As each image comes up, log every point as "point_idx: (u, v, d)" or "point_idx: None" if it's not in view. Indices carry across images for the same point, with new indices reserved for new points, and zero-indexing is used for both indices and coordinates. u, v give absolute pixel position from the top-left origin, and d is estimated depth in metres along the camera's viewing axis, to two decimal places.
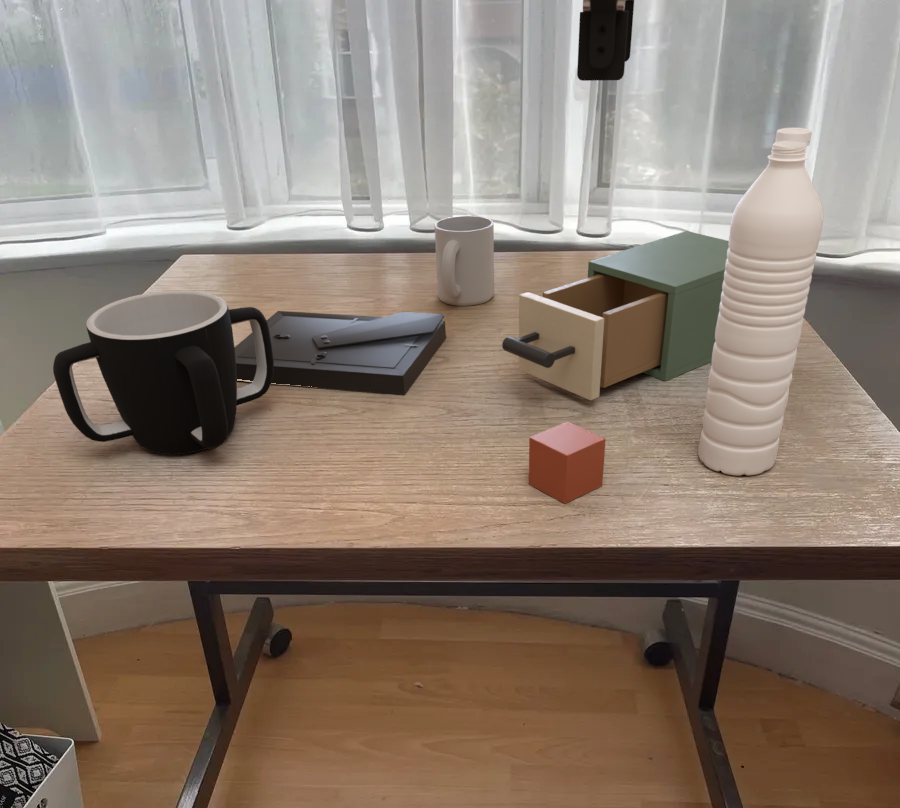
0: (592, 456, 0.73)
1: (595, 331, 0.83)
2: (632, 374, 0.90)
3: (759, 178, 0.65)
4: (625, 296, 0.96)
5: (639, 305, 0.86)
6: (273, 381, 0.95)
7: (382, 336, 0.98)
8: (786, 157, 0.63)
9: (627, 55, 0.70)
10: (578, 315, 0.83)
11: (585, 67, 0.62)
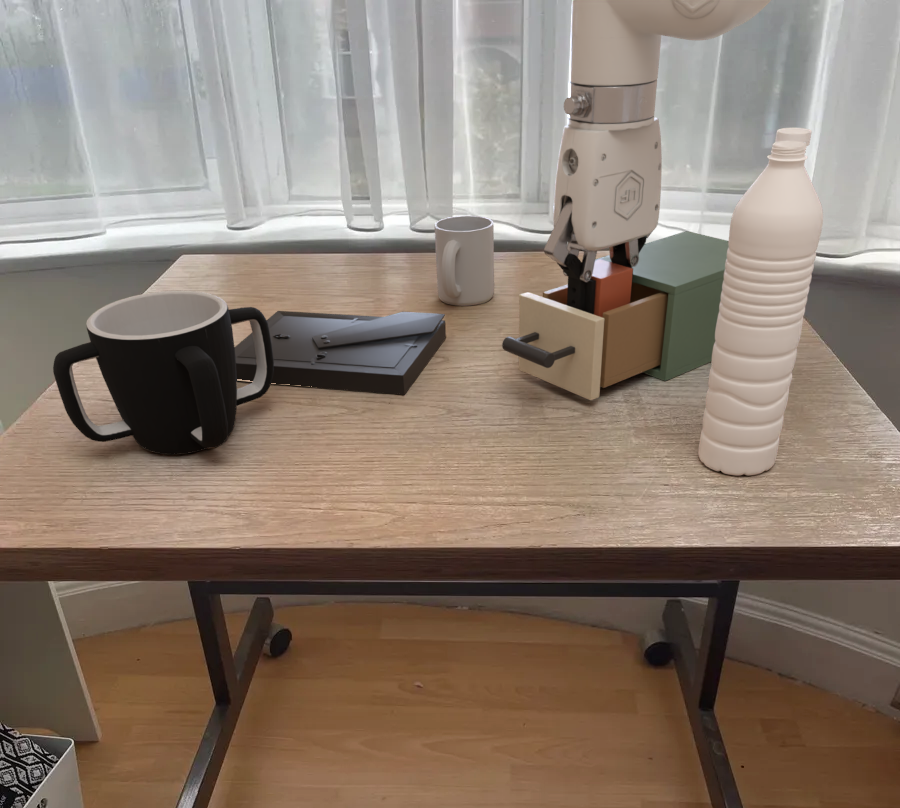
0: (621, 283, 0.86)
1: (595, 331, 0.83)
2: (632, 374, 0.90)
3: (759, 178, 0.65)
4: None
5: (639, 305, 0.86)
6: (273, 381, 0.95)
7: (382, 335, 0.98)
8: (785, 157, 0.63)
9: None
10: (578, 315, 0.83)
11: None
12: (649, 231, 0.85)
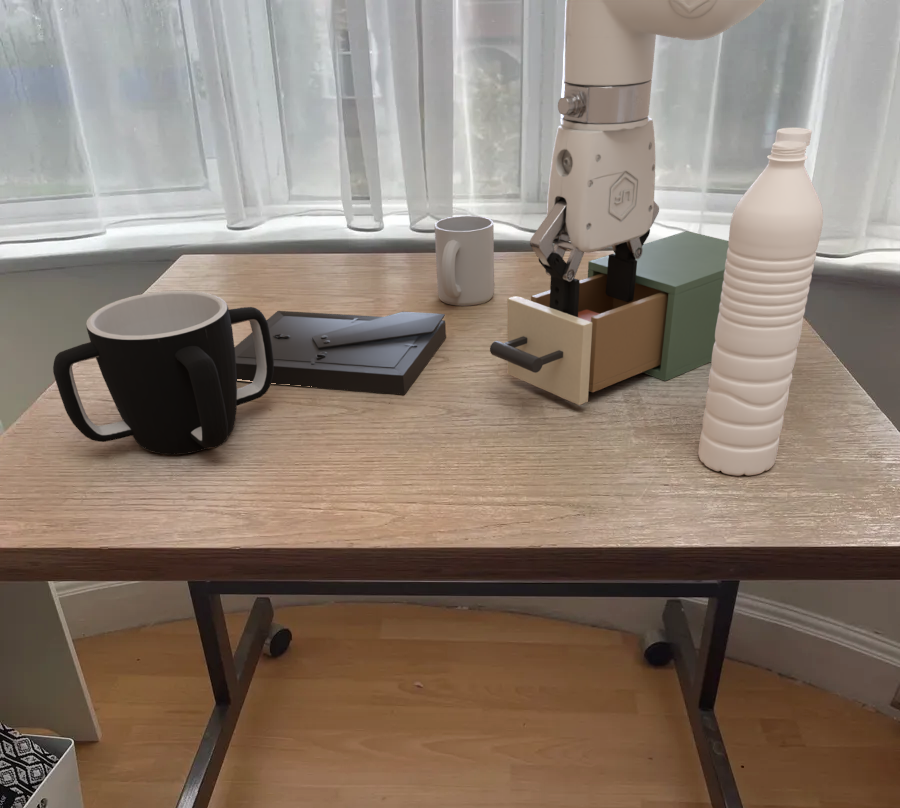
0: None
1: (583, 335, 0.82)
2: (621, 378, 0.89)
3: (759, 178, 0.65)
4: (615, 299, 0.95)
5: (628, 309, 0.85)
6: (273, 381, 0.95)
7: (382, 335, 0.98)
8: (785, 157, 0.63)
9: (628, 298, 0.89)
10: (566, 319, 0.83)
11: None
12: (643, 232, 0.84)
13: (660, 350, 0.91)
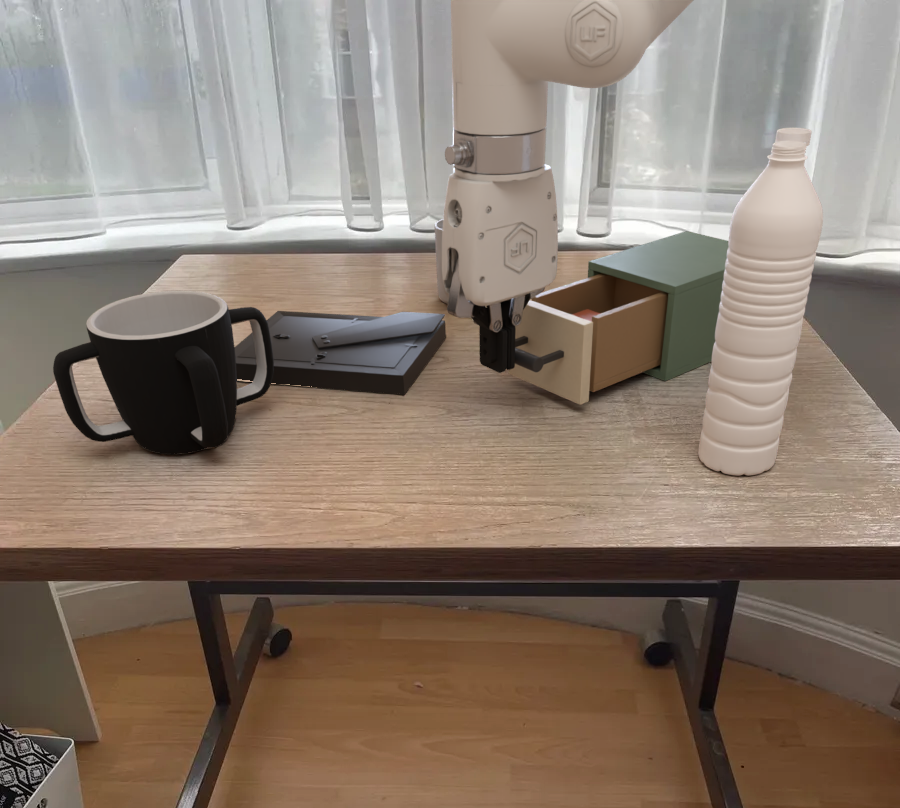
0: None
1: (584, 335, 0.82)
2: (622, 378, 0.89)
3: (759, 178, 0.65)
4: (616, 299, 0.95)
5: (629, 309, 0.85)
6: (273, 381, 0.95)
7: (382, 335, 0.98)
8: (785, 157, 0.63)
9: (508, 366, 0.83)
10: (567, 319, 0.83)
11: None
12: (546, 284, 0.80)
13: (661, 350, 0.91)
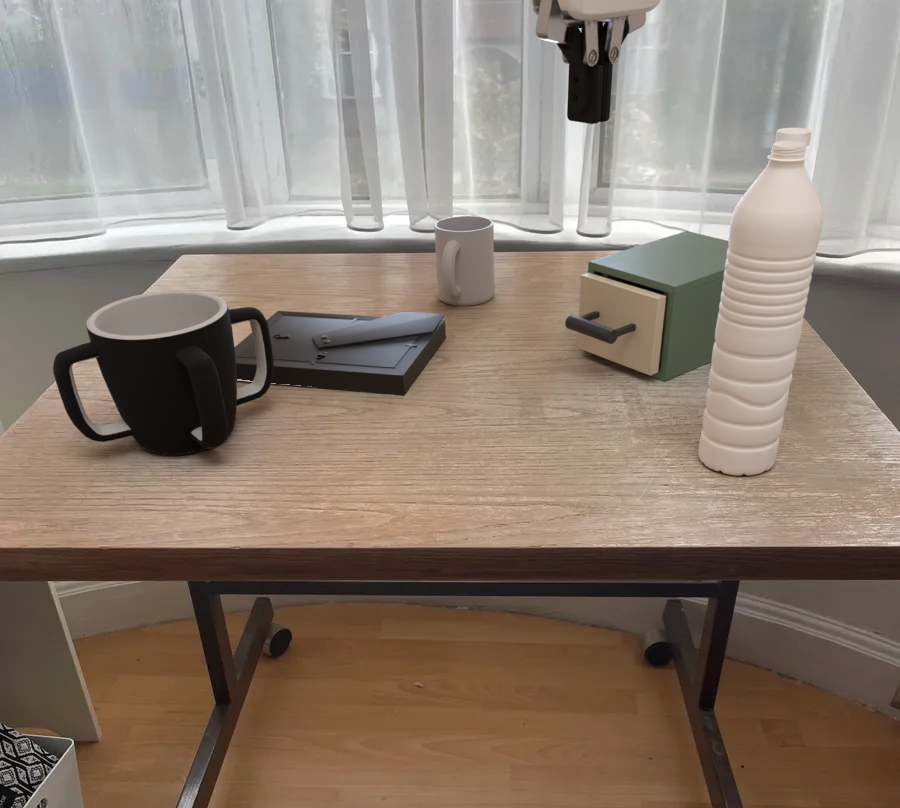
0: None
1: (657, 308, 0.87)
2: None
3: (759, 178, 0.65)
4: None
5: None
6: (273, 381, 0.95)
7: (382, 335, 0.98)
8: (785, 157, 0.63)
9: (602, 116, 0.71)
10: (641, 293, 0.87)
11: None
12: (651, 5, 0.68)
13: None
